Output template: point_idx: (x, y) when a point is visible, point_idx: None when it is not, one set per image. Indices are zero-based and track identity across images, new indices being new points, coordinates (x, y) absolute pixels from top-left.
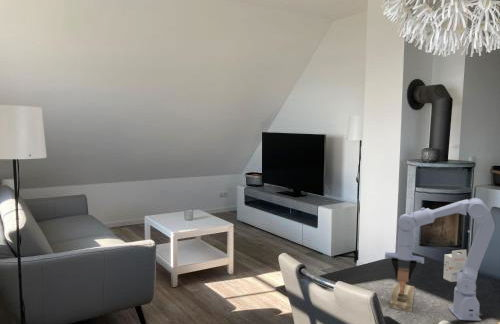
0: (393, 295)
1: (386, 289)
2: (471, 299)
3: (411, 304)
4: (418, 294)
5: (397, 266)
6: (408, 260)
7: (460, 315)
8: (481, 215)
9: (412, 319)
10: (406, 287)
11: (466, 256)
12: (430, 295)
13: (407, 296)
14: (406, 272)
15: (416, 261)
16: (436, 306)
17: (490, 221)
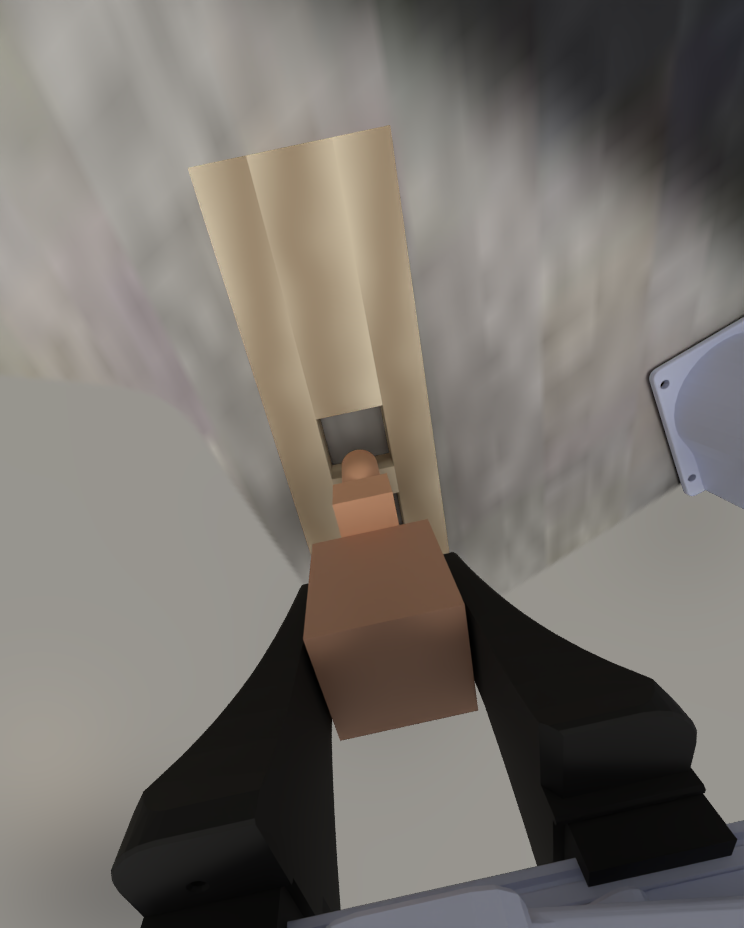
0: (301, 485)
1: (170, 289)
2: None
3: (443, 544)
4: (433, 219)
5: (332, 817)
6: (535, 900)
7: (708, 478)
8: None
9: None
10: (330, 225)
11: None
12: (528, 167)
13: (392, 437)
14: (449, 710)
15: (716, 883)
16: (572, 382)
17: None
